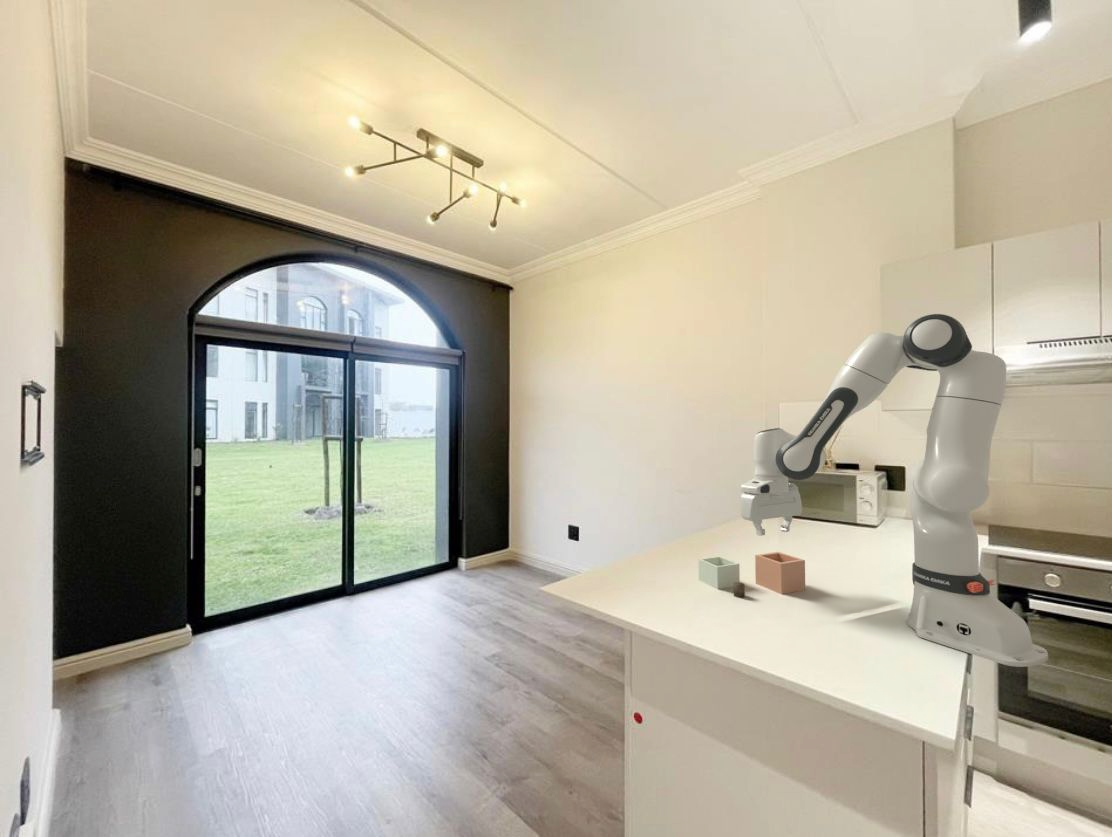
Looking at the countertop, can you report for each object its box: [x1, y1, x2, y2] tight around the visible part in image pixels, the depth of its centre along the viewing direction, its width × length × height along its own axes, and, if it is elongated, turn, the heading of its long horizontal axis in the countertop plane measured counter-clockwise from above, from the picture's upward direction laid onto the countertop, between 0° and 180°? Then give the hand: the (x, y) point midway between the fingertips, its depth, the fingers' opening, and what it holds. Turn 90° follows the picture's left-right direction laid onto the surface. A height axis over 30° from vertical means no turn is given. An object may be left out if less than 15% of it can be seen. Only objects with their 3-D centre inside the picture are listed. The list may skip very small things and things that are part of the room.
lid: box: [733, 581, 746, 599], centre depth 119 cm, size 9×9×4 cm
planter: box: [754, 551, 806, 595], centre depth 126 cm, size 9×9×9 cm
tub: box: [698, 555, 741, 590], centre depth 129 cm, size 8×8×7 cm
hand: (773, 533), depth 126 cm, fingers open, 8 cm apart
